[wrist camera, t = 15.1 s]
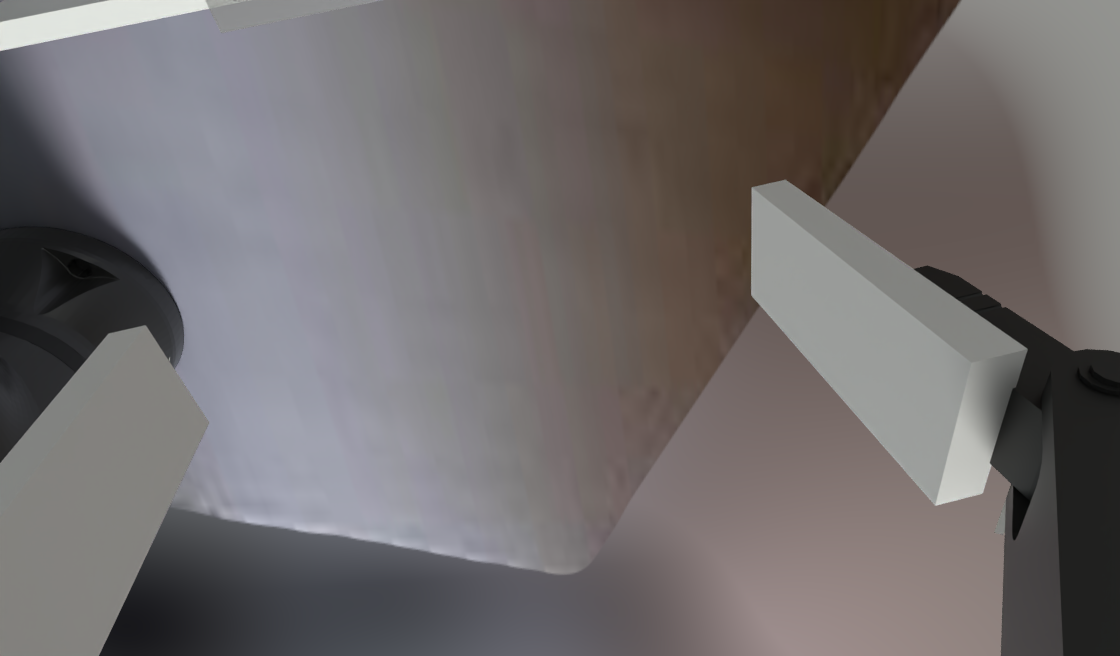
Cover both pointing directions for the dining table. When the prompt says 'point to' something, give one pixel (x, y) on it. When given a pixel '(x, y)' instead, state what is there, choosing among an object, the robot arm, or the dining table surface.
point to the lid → (140, 15)
